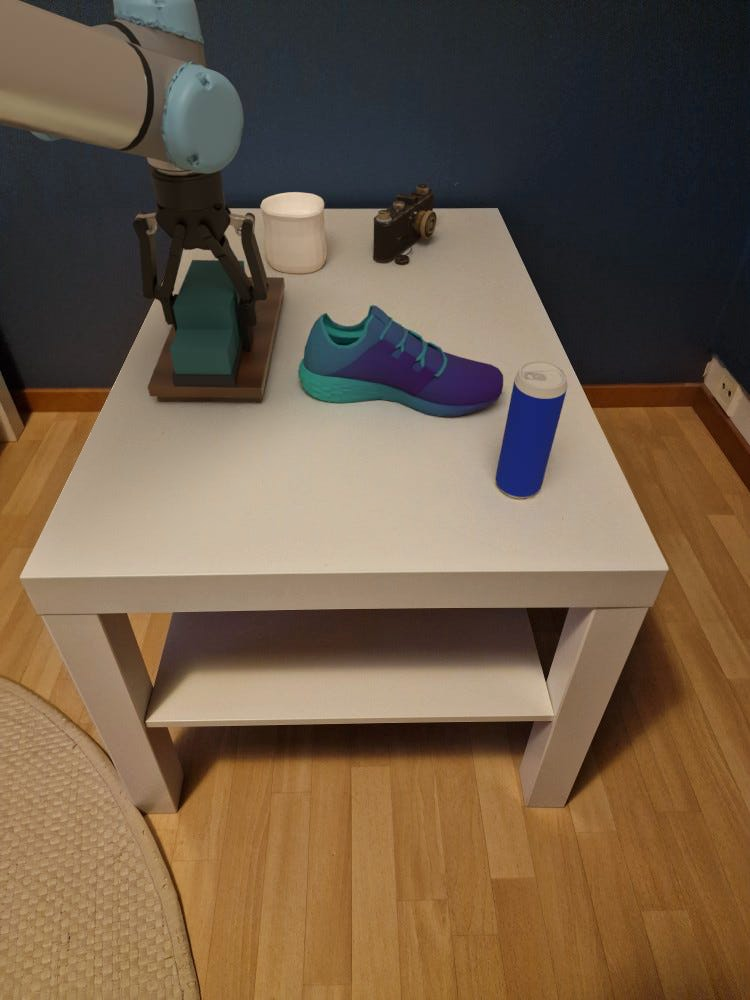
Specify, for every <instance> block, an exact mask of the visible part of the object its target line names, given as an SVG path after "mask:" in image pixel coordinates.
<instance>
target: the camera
mask: <svg viewBox="0 0 750 1000" xmlns="http://www.w3.org/2000/svg"><path fill="white" fill-rule="evenodd" d="M434 196H435V191H434V189H432V188H430V187H429V185H428V184H425V183H420V184H417V185H416V189H415V190H412V192H410V193H397V194H396V196H395V199H396V201H393V202H392V205H391V206H389V207H388V208H386V209H379V210H378V211H377V215H375V216H374V217H373V250H372V251H373V255H372V259H373V261H375V262H377V263H379V264H388V263H391V262H392V261H393V260H394V263H395V264H397V265H400V266H401V265H402V266H403V265H407V264H408V263H409V262H410V257H409V256H408V255H409V254H410V253H411V252H412V250H413V245H414V244H416V243H418V242H419V241H420V240H421V239H423V238H424V239H429V238H431V237H432V235H433V234H434V231H435V230H436V227H437V221H438V220H437V214H436V212H435V211H434V198H435V197H434ZM409 248H410V250H409V252H407V253H406V254H404V252H405V251H407V250H408V249H409Z"/></svg>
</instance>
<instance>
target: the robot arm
mask: <svg viewBox="0 0 750 1000" xmlns="http://www.w3.org/2000/svg"><path fill="white" fill-rule="evenodd" d="M112 3H113V16H114V18H115V19H114V20H111V21H108V22H106V23H102V24H98V25H92V26H88V25H86V24H83V23H80V22H78V21H75V20H73V19H70V18H67V17H64V16H61V15H59V14H56V13H53V12H51V11H49V10H46V9H44V8H41V7H38V6H35V5H32V4H30V3H27V2H24V1H22V0H0V125H1V126H6V127H9V128H14V129H19V130H24V131H29V132H30V133H31V134H32V135H33V136H34V137H36V138H38V139H39V140H42V141H45V142H54V141H58V140H62V139H66V140H70V141H75V142H79V143H83V144H84V143H85V144H88V145H92V146H97V147H103V148H107V149H111V150H115V151H117V152H121V153H126V154H130V155H135V156H139V157H144V158H146V160H147V163H148V164H149V165H150V166H151V168H150V169H149V176H150V180H151V184H152V189H153V193H154V198H155V202H156V211H155V212H152V213H151V212H150V213H147V212H146V211H145V210H143V211H138V213H137V215H136V216H135V218H134V220H133V221H132V227H133V229H134V232H135V234H136V237H137V239H138V242H139V255H140V269H141V280H142V281H141V282H142V284H141V285H142V295H143V297H144V298H145V299H148V300H152V299H154V300H157V301H158V302H160V304H161V308H162V312H163V316H164V321H165V323H166V324H167V325H170V326H172V325H174V328H175V332H176V331H177V323H176V319H175V314H174V309H173V306H174V303H175V301H176V298H177V296H178V293H174V291H175V286H176V281H177V279H178V278H177V277H178V275H179V274H178V273H179V269H180V265H181V261H182V257H183V253H184V251H192V250H196V249H199V250H202V251H210V252H211V254H212V255H213V257H214V259H216V260H219V262H220V264H221V265H222V267H223V268H224V270H225V272H226V273H227V275H228V277H229V278H230V280H231V282H232V283H233V285H234V287H235V288H236V290H237V292H238V293H239V295H240V297H241V298H240V302H239V305H238V308H239V315H240V322H241V329H242V335H243V342H244V349H245V351H251V347H252V343H253V334H252V326H256V323H257V319H258V311H257V303H256V301H258V300H266V299H267V296H268V291H269V283H268V279H267V277H268V276H267V273H266V270H265V266H264V262H263V259H262V258H263V257H262V254H261V252H260V249H259V244H258V241H257V237H256V233H255V228H256V227H255V225H256V216H255V214H254V213H252V212H247V213H245V215H242V214H237V213H233V212H231V209H230V208H229V206H228V204H227V201H226V197H225V191H224V184H223V176H222V171H221V170H223V169H225V167H227V166H228V165H229V164H230V163H231V162H232V161H233V159H234V158H235V157H236V154H237V152H238V151H239V149H240V145H241V142H242V136H243V129H244V123H245V122H244V121H245V119H244V118H245V117H244V111H243V110H244V108H243V105H242V101H241V99H240V96H239V94H238V91H237V89H236V88H235V86H234V85H233V84H232V83H231V82H230V80H229V79H228V78H227V77H225V76H224V75H223V74H222V73H220V72H218V71H215V70H213V69H210V68H207V64H206V56H205V48H204V45H205V41H204V39H203V33H202V30H201V25H200V20H199V16H198V15H199V14H198V10H197V6H196V2H195V0H112ZM158 226H159V227H160V229H162V230H163V231H164V232H165V233H166V234H167V235H168V236H169V238H171V244H170V248H169V253H168V258H167V261H166V266H165V271H164V274H163V275H164V276H163V278H162V279H163V280H162V284H158V283H159V282H158V268H157V267H158V265H157V250H156V235H155V234H156V232H157V230H158ZM229 226H232V228H234V231H235V234H236V235H237V236H238V237H240V241H241V247H242V250H243V253H244V255H245V256H244V257H245V260H246V263H247V267H248V270H249V273H250V277H252V280H253V283H254V287H253V285H252V283H251V281H250V280H249V278H248V277H249V276H248V275H247V273H246V270H245V271H244V269H243V268H242V266H241V264H240V263H239V261H240V260H239V259H238V257H237V256H236V254H235V252H234V251H233V249H232V247H231V244H230V241H229V239H228V237H227V235H226V231H227V230H228V228H229Z"/></svg>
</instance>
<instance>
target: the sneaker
mask: <svg viewBox="0 0 750 1000" xmlns="http://www.w3.org/2000/svg"><path fill="white" fill-rule="evenodd" d="M402 325H403V324H400V323H399V322H397V321H395V320H394V319H393V317H391V316H389V315H388V314H387V313H386V312H385V311H384V310H382V308H380V307H379V306H377V305H374V304H371V305H369V308H368V313H367V316H365V317H364V318H363V319H362V320H361V321H360V322H359V323H357V324H354V325H348V326H347V325H342V324H339V323H337V322H335V321H333V319H332V318H331V317H330V315H328V313H322V314H321V315H320V316H319V317H318V318H317V319H316V320H315V321H314V323H313V325H312V327H311V329H310V331H309V334H308V337H307V340H306V342H305V346H304V351H303V358H302V359H301V360H300V362H299V366H298V370H297V371H298V380H299V382H300V383H301V385H302V386H303V389H304V391H305V392H306V393H307V394H308V395H310V396H311V397H312V398H314V399H317V400H319V401H325V402H329V403H337V404H347V403H359V402H368V401H378V400H383V401H389V402H394V403H399V404H402V405H403V406H405V407H408V408H410V409H413V410H414V411H418V412H419V413H422V414H425V415H427V416H435V417H436V416H437V417H446V418H453V417H459V416H463V415H467V414H470V413H474V412H477V411H479V410H482V409H484V408H486V407H488V406H490V405H492V404H493V403H496V402H497V401H498V400H499V398H500V397H501V395H502V394H503V389H504V374H503V373H502V371H501V369H499V367H497V366H496V365H495V366H494V365H493V364H491V363H487V362H482V361H477V360H473V359H469V358H465V357H462V356H458V355H455V354H453V353H449V352H445V351H443V350H442V348H441V347H440V346H438V345H437V344H435V343H433V342H432V341H429V342H428V341H426V340H424V339H423V336H422V335H420V334H419V333H417V332H415V331H413V330H412V329H408V328H405V327H404V326H402Z"/></svg>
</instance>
